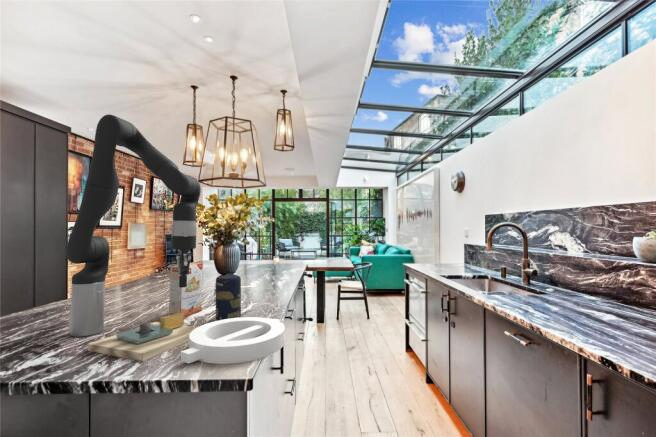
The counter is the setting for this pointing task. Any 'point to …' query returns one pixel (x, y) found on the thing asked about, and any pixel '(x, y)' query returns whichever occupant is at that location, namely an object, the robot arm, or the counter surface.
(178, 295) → the cracker box
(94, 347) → the base board
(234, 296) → the canister
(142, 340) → the t-shaped piece
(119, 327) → the counter surface
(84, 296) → the robot arm
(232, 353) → the white circle with bar
